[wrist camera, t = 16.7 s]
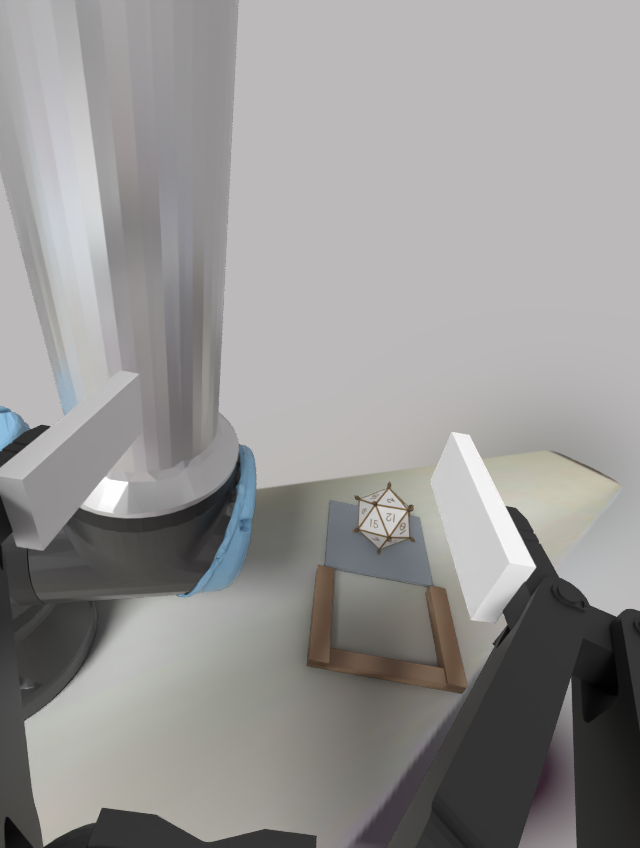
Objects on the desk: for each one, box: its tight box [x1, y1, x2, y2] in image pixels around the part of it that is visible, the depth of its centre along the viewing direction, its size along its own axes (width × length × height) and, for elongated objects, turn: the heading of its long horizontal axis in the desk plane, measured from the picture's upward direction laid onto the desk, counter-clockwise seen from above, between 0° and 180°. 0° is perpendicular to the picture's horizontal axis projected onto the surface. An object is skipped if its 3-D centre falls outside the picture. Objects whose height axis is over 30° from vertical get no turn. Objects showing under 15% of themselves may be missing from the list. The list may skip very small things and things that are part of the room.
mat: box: [325, 500, 433, 587], centre depth 54 cm, size 14×12×1 cm
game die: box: [352, 482, 415, 556], centre depth 52 cm, size 9×8×10 cm
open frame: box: [307, 565, 467, 693], centre depth 43 cm, size 16×11×2 cm
